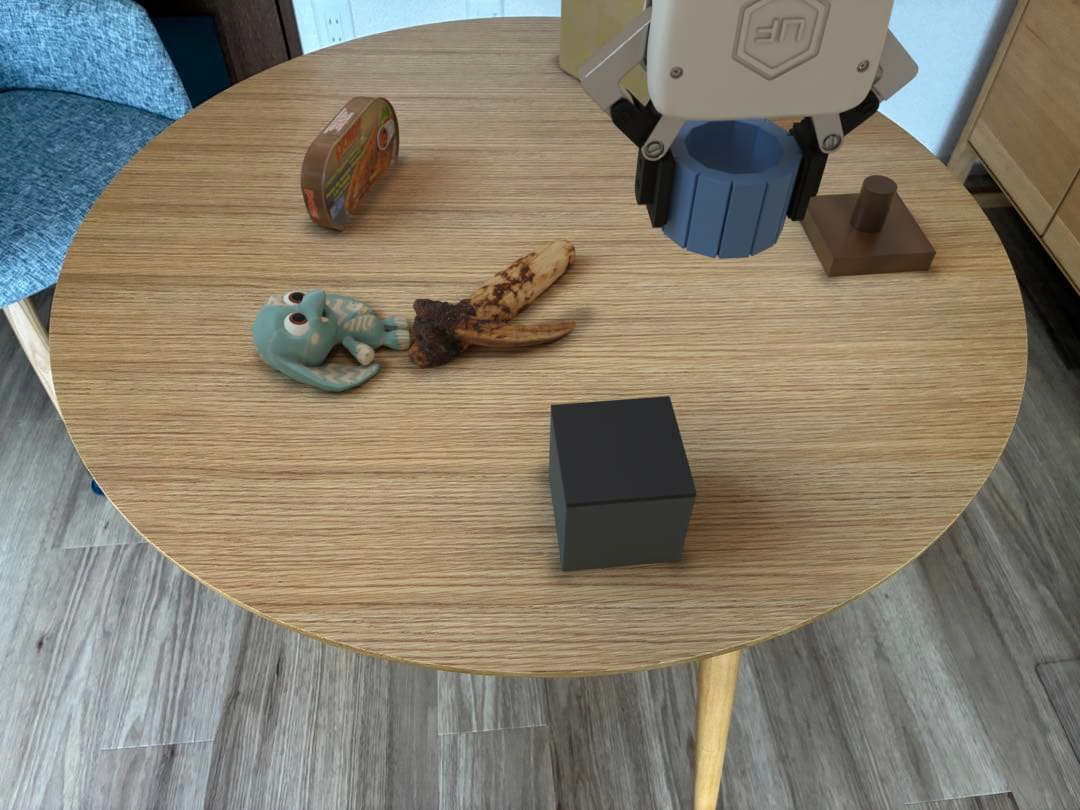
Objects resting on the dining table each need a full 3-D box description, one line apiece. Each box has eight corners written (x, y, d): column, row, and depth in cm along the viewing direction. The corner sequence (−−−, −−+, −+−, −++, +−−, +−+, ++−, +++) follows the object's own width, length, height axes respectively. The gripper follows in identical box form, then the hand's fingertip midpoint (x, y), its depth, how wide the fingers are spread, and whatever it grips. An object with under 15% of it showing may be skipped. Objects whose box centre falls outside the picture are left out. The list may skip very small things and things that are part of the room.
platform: (886, 217, 81) (910, 152, 76) (924, 279, 75) (954, 212, 70) (793, 223, 80) (812, 157, 75) (825, 285, 75) (847, 219, 69)
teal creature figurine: (424, 340, 62) (248, 341, 58) (415, 408, 67) (252, 412, 63) (407, 248, 69) (249, 244, 65) (400, 316, 74) (253, 315, 70)
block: (655, 475, 61) (669, 395, 54) (678, 569, 56) (697, 493, 49) (548, 484, 60) (550, 404, 54) (561, 579, 55) (566, 504, 49)
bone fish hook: (471, 418, 65) (624, 299, 73) (468, 378, 61) (630, 257, 69) (390, 354, 69) (544, 248, 77) (383, 312, 65) (545, 205, 73)
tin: (338, 249, 77) (321, 168, 71) (306, 242, 78) (286, 161, 71) (406, 160, 87) (396, 81, 80) (377, 155, 87) (365, 76, 81)
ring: (763, 182, 49) (780, 109, 45) (796, 255, 44) (818, 180, 41) (648, 187, 48) (657, 114, 45) (670, 262, 44) (682, 187, 41)
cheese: (533, 81, 98) (534, -60, 86) (588, 51, 102) (595, -86, 91) (694, 155, 88) (718, 7, 77) (746, 118, 93) (776, -26, 81)
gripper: (584, -151, 29) (567, 262, 43) (1069, -160, 30) (905, 245, 44) (561, -211, 34) (552, 176, 48) (979, -217, 35) (856, 163, 49)
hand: (722, 206), depth 46 cm, fingers closed on ring, 6 cm apart
